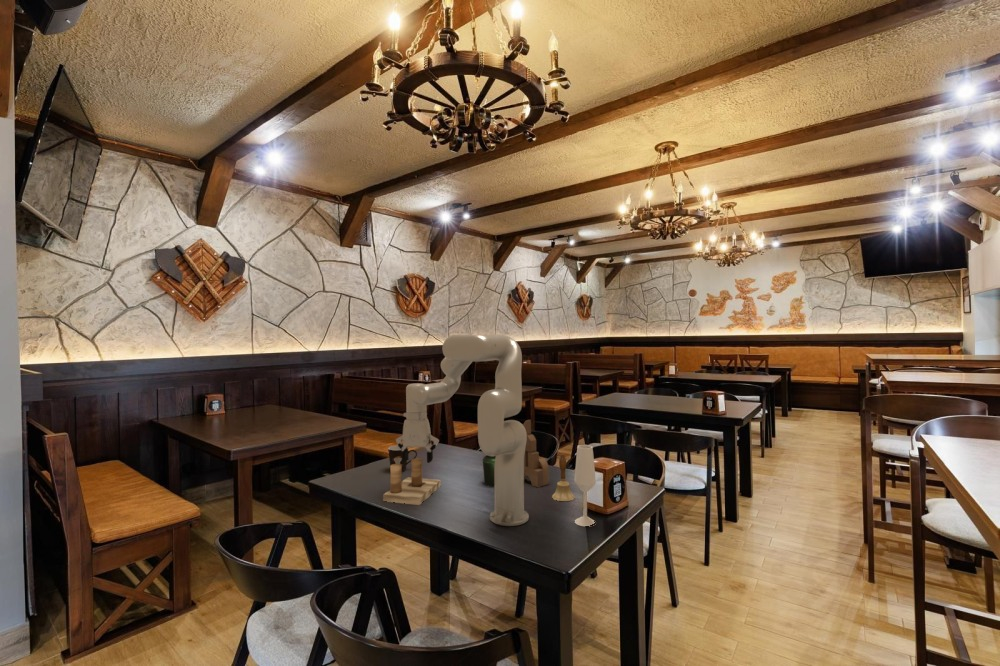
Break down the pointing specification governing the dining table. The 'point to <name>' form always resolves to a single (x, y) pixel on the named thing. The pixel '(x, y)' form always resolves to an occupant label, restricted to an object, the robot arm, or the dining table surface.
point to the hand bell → (563, 484)
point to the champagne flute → (584, 478)
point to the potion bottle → (489, 470)
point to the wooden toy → (534, 461)
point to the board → (408, 488)
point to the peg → (416, 472)
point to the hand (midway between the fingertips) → (417, 461)
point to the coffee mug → (398, 456)
